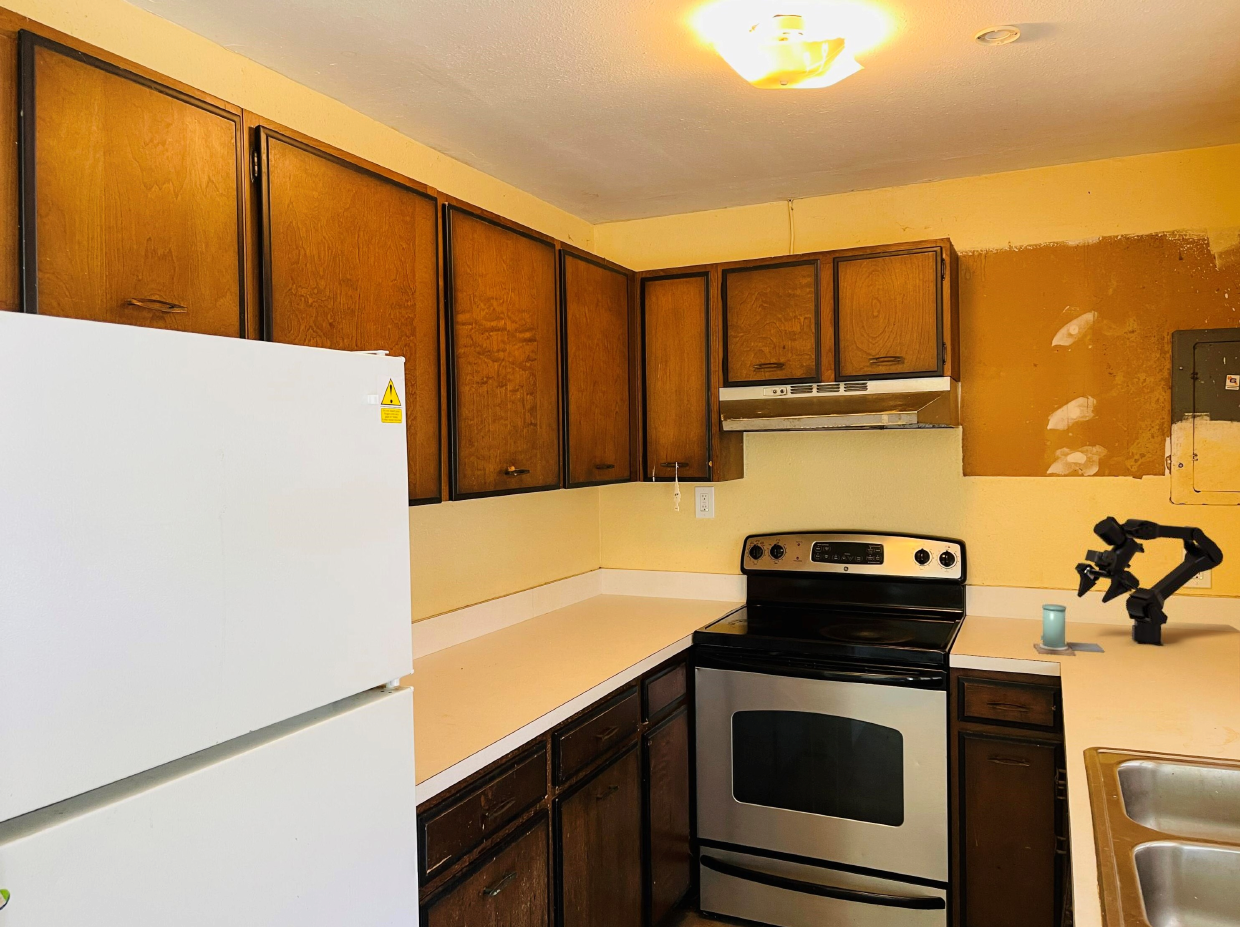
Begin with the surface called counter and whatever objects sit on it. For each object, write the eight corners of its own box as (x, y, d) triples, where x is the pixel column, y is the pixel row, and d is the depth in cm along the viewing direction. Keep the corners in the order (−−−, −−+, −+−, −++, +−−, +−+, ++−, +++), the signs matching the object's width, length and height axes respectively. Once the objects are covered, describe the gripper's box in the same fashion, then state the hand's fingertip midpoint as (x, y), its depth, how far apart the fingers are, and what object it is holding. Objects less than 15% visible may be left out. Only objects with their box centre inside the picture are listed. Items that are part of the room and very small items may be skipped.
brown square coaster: (1068, 648, 251) (1068, 642, 251) (1074, 655, 243) (1074, 650, 243) (1033, 646, 254) (1033, 641, 254) (1038, 653, 245) (1038, 648, 245)
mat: (1097, 645, 254) (1097, 643, 254) (1103, 652, 247) (1103, 650, 247) (1066, 644, 257) (1066, 641, 257) (1072, 650, 249) (1072, 648, 249)
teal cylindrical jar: (1063, 643, 250) (1063, 604, 250) (1067, 648, 245) (1068, 608, 244) (1039, 642, 252) (1039, 603, 252) (1042, 647, 246) (1043, 607, 246)
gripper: (1077, 535, 263) (1048, 577, 261) (1128, 542, 245) (1097, 587, 243) (1102, 558, 265) (1073, 600, 263) (1153, 566, 247) (1123, 611, 245)
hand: (1090, 599), depth 254 cm, fingers open, 9 cm apart
